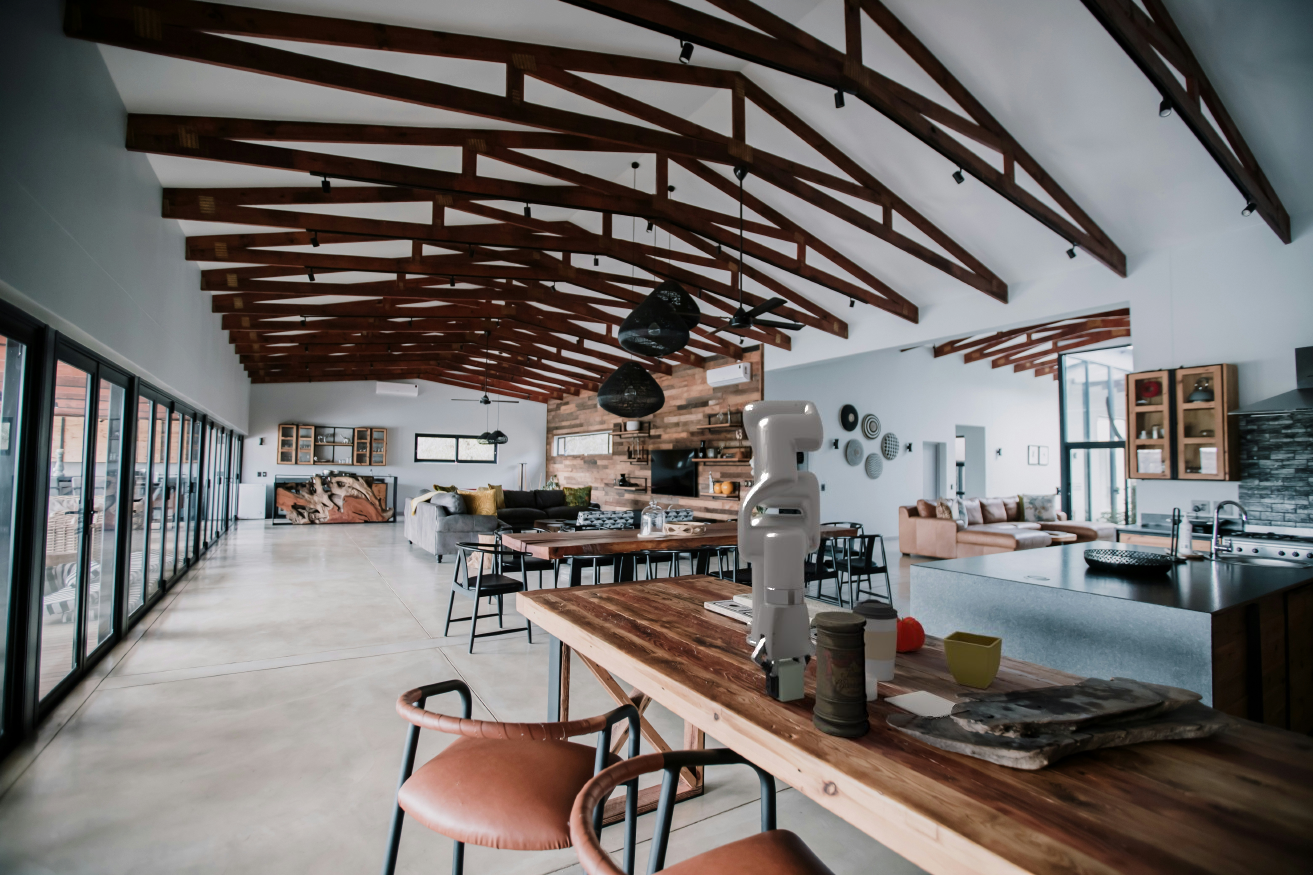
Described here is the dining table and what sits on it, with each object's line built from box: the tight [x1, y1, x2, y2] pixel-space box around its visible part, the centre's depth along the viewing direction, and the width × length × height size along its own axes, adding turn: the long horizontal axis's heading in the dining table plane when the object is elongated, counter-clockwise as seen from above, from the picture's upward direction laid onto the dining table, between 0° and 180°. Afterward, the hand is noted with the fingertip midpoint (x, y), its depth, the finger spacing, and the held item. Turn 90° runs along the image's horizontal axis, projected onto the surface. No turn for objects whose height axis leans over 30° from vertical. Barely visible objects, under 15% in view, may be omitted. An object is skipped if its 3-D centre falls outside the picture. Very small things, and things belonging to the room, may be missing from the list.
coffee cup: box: [851, 598, 899, 682], centre depth 127 cm, size 9×9×15 cm
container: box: [812, 611, 871, 738], centre depth 101 cm, size 9×9×18 cm
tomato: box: [896, 616, 926, 653], centre depth 145 cm, size 9×9×8 cm
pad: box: [884, 690, 957, 718], centre depth 110 cm, size 10×10×1 cm
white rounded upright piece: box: [866, 673, 878, 702], centre depth 115 cm, size 6×6×4 cm
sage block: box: [765, 658, 805, 703], centre depth 115 cm, size 5×5×6 cm
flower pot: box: [942, 630, 1003, 690], centre depth 122 cm, size 9×9×9 cm
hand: (785, 692), depth 115 cm, fingers closed on sage block, 4 cm apart
